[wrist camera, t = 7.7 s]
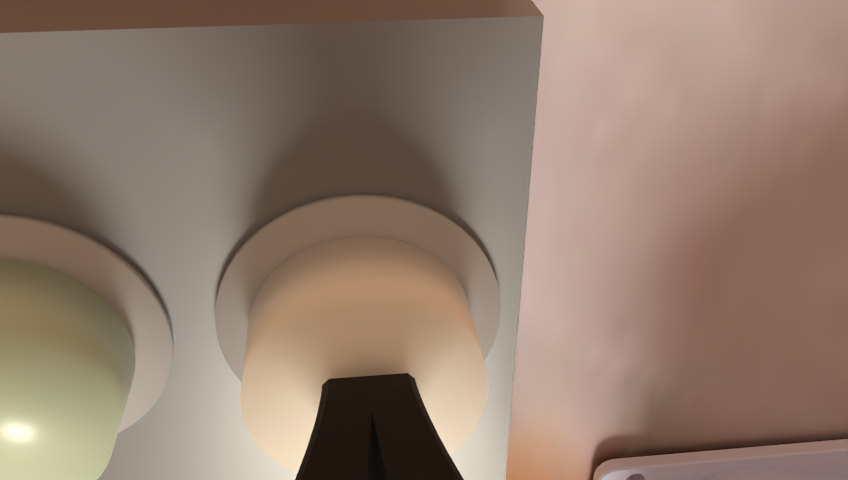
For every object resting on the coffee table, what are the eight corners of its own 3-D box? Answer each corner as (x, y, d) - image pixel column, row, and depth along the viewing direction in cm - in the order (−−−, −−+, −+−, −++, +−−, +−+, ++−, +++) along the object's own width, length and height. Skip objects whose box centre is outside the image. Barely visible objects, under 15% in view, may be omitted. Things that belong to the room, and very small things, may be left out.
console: (510, -27, 14) (546, 20, 12) (484, 421, 20) (505, 508, 18) (-619, 4, 13) (-825, 64, 10) (-289, 482, 19) (-373, 588, 16)
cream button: (474, 229, 14) (494, 292, 12) (467, 403, 16) (483, 474, 14) (235, 243, 13) (224, 309, 12) (261, 419, 15) (255, 494, 14)
